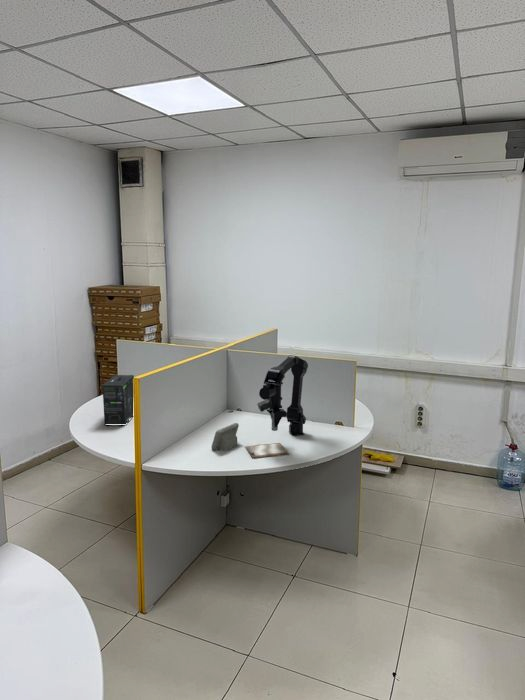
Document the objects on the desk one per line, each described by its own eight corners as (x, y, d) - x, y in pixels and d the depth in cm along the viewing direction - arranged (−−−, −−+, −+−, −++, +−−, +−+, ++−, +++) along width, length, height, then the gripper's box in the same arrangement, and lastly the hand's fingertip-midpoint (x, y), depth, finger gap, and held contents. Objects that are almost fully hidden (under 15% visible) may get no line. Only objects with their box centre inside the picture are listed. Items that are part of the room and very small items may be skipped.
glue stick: (276, 428, 237) (277, 410, 236) (278, 430, 234) (279, 412, 232) (270, 429, 236) (270, 411, 235) (272, 431, 233) (272, 413, 232)
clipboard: (279, 443, 242) (279, 440, 241) (289, 454, 228) (289, 451, 228) (245, 447, 237) (245, 444, 236) (252, 458, 223) (252, 455, 223)
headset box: (125, 426, 267) (123, 381, 262) (104, 426, 267) (101, 380, 262) (136, 413, 289) (134, 371, 284) (116, 413, 289) (114, 371, 284)
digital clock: (232, 440, 247) (232, 420, 245) (244, 445, 240) (244, 424, 238) (207, 448, 236) (206, 427, 234) (218, 453, 230) (217, 432, 228)
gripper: (254, 391, 239) (253, 421, 241) (264, 401, 221) (264, 433, 224) (275, 389, 242) (275, 419, 244) (287, 399, 224) (286, 431, 227)
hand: (274, 425), depth 235 cm, fingers closed on glue stick, 3 cm apart
